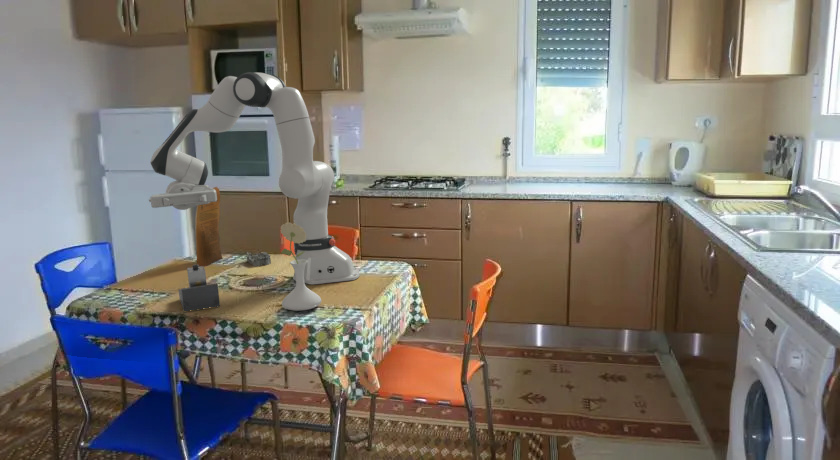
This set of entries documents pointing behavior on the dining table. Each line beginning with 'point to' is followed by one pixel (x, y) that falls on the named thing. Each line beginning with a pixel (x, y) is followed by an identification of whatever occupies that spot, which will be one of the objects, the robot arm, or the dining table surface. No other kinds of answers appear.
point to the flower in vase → (298, 273)
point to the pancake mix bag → (208, 232)
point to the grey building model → (259, 259)
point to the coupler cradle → (199, 297)
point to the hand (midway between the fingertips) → (186, 201)
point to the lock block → (196, 276)
